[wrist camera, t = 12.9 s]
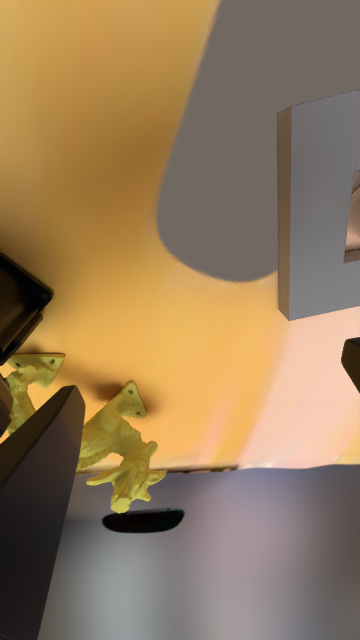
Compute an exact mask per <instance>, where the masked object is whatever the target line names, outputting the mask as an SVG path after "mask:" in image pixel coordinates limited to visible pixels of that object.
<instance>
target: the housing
mask: <svg viewBox="0 0 360 640" xmlns="http://www.w3.org/2000/svg"><path fill="white" fill-rule="evenodd" d="M277 164H278V273H279V311H280V312H281V313H282V314H283V315H284V316H285V317H286V318H287V319H288V320H289V321H291V320H296V319H300V318H305V317H310V316H314V315H319V314H323V313H328V312H333V311H337V310H342V309H347V308H351V307H356V306H360V249H358V250H353V251H349V252H345V244H346V236H347V228H348V219H349V211H350V203H351V194H352V186H353V178H354V171H359V170H360V90H357V91H353V92H348V93H344V94H340V95H336V96H331V97H327V98H323V99H319V100H314V101H310V102H306V103H302V104H297V105H293V106H291V107H289V108H287V109H285V110H283V111H281V112H279V113H277Z"/></svg>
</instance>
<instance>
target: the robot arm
mask: <svg viewBox="0 0 360 640" xmlns="http://www.w3.org/2000/svg"><path fill="white" fill-rule="evenodd" d="M43 293H46V294H47V295H48V297H45V296H44V294H43ZM53 296H54V294H53V292H52V291H51V290H50V289H49V288H47V287H46V286H45V285H44V284H42V283H41V282H40V281H38V280H37V279H36V278H34V277H33V276H32V275H30V274H29V273H28V272H26V271H25V270H24V269H22V268H21V267H20V266H18V265H17V264H16V263H15V262H13V261H12V260H11V259H9V258H8V257H7V256H5V255H4V254H3V253H1V252H0V366H2V365H3V364H4V363H5V362H6V361H7V360H8V359H9V358H10V357H11V356H12V355H13V354H14V353H15V352H16V351H17V350H18V349H19V348H20V347H21V346H22V344H23V343H24V342H25V341H26V339H27V338H28V337H29V335H30V334H31V333H32V332H33V330H34V329H35V328H36V327H37V325H38V324H39V323H40V321H41V320H42V319H43V315H42V314H41V313H39V312H40V311H41V310H42V309H43V308H44V307H45V306H46V305H47V304H48V303H49V302H50V301H51V299H52V298H53ZM341 362H342V365H343V367H344V369H345V370H346V372H347V374H348V375H349V377H350V378H351V380H352V382H353V383H354V385H355V387H356V388H357V390H358V391H359V393H360V337H357V338H351V339H347V340H346V341H345V343H344V347H343V352H342V357H341ZM9 387H10V384H9V382H8V381H7V379H6V378H3V376H2V375H1V373H0V438H1V436H2V435H3V434H4V432H5V431H6V429H7V428H8V426H9V425H10V423H11V421H12V418H11V417H10V413H11V410H12V406H13V402H14V399H13V396H12V393H11V391H10V389H9ZM84 416H85V402H84V400H83V398H82V395H81V393H80V391H79V389H78V387H77V386H76V385H70V386H64V387H62V388H61V389H60V390H59V391H58V392H56V393H55V394H54V395H53V396H52V397H51V398H50V399H49V400H48V401H47V402H46V403H45V404H44V405H42V406H41V407H40V408H39V409H38V410H37V411H36V412H35V413H34V414H33V415H32V416H31V417H29V418H28V419H27V420H26V421H25V422H24V423H23V424H22V425H21V426H20V427H19V428H18V429H16V430H15V431H14V432H13V433H12V434H11V435H10V436H9V437H8V438H7V439H6V440H5V441H3V442H2V443H1V444H0V640H37V639H38V635H39V631H40V627H41V622H42V618H43V614H44V609H45V604H46V600H47V596H48V592H49V587H50V583H51V578H52V574H53V570H54V565H55V561H56V557H57V552H58V548H59V544H60V539H61V535H62V530H63V526H64V522H65V517H66V513H67V508H68V504H69V500H70V495H71V491H72V487H73V483H74V478H75V474H76V469H77V465H78V461H79V456H80V450H81V442H82V433H83V425H84Z"/></svg>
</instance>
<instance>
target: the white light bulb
mask: <svg viewBox="0 0 360 640" xmlns="http://www.w3.org/2000/svg"><path fill="white" fill-rule="evenodd" d="M347 230H348V231H349V232H350V233H352V234H354V235H357V236H360V186H359V187H358V188H357V189H356V190H355V191H354V192H353V194H352V195H351V203H350V211H349V219H348V228H347Z"/></svg>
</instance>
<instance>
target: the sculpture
mask: <svg viewBox="0 0 360 640" xmlns="http://www.w3.org/2000/svg"><path fill="white" fill-rule="evenodd" d="M64 358H65V356H64V355H63V354H15V355H12V356H11V357H10V358H9V359H8V360H7V361H6V362H7V363H9V364H10V365H11V366H13V367H14V368H16V369H17V371H15V372H12V373H11V374H10V375H9V376H8V377H7V378H6V379H7V381H8V382H9V384H10V387H9V389H10V391H11V393H12V396H13V399H14V402H13V406H12V410H11V413H10V417H11V418H12V421H11V423H10V425H9V426H8V428H7V430H8V433H9V435H11V434H12V433H13V432H14V431H15V430H16V429H18V428H19V427H20V426H21V425H22V424H23V423H24V422H25V421H26V420H27V419H28V418H29V417H31V416H32V415H33V414H34V413H35V412H36V410H35V408H34V406H33V404H32V402H31V399H30V397H29V396H28V393H27V389H28V385H29V384H32V383H34V382H36V383H38V384H39V385H41V386H42V387H44V388H48V387H49V386H50V385H51V383H52V382H53V381H54V379H55V377H56V375H57V373H58V371H59V369H60V367H61V365H62V363H63V361H64ZM131 390H132V391H131ZM121 416H123V417H137V418H144V417H146V412H145V408H144V405H143V402H142V400H141V397H140V395H139V392H138V389H137V387H136V385H135V383H134V382H133V381H131V382H128V383H127V384H126V385H125V386H124V388H123V389H122V390H121V391H120V392H119V393H118V395H117V396H116V397H114V398H113V399H111V400H110V401H109V402H108V403H107V404H106V405H105V406H104V407H103V408H102V409H101V410H100V411H98V412H97V413H96V414H95V415H94V416H93V417H92V418H91V419H90V420H89V421H88V422H87V423H86V424H85V425H84V426H83V433H82V442H81V450H80V456H79V461H78V465H77V469H76V472H77V470H78V469H79V468H81V469H82V470H84V469H86V468H88V467H89V466H93V465H94V464H96V463H98V462H100V461H101V460H102V459H103V458H105V457H107V456H108V455H109V454H110V453H117V454H119V455H121V456H123V457H124V459H123V461H122V462H121V464H120V466H119V467H116V468H113V469H111V470H109V471H107V472H104V473H102V474H100V475H97V476H95V477H91V478H88V480H87V483H86V484H88V485H98V484H101V483H104V482H110V481H112V484H113V486H114V492H113V495H112V497H111V509H112V510H114V511H115V512H117V513H122V512H126V511H127V510H128V509H129V508H130V503H131V501H133V500H135V499H136V498H137V499H143V500H145V501H149V500H150V499H151V496H150V495H149V494H148V492H147V488H148V487H149V486H150V485H151V484H154V483H156V482H158V481H160V480H161V479H163V478H164V477H165V472H163V471H160V472H158V471H153V470H150V469H149V462H150V457H151V456H153V454H154V453H155V452H156V450H157V447H158V445H157V443H156V442H155V441H150V442H149V443H145V442H143V441H142V439H141V437H140V436H141V433H140V432H139V431H137V430H136V429H134V428H132V427H131V425H130V424H129V423H128V422H127V421H126V420H124V419H123V418H122V417H121Z"/></svg>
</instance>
